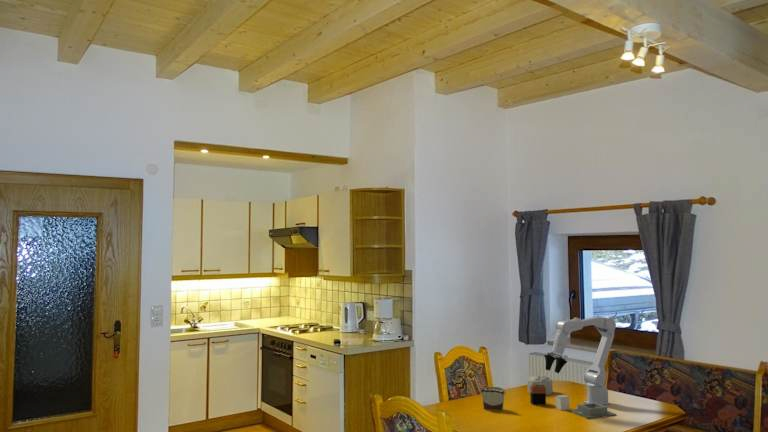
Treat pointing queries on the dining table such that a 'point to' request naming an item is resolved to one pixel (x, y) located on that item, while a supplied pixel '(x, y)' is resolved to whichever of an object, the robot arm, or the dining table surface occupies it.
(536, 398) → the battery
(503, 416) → the dining table surface
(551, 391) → the lumpy-topped squat cylinder
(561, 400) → the plug
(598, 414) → the socket dock
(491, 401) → the food container
